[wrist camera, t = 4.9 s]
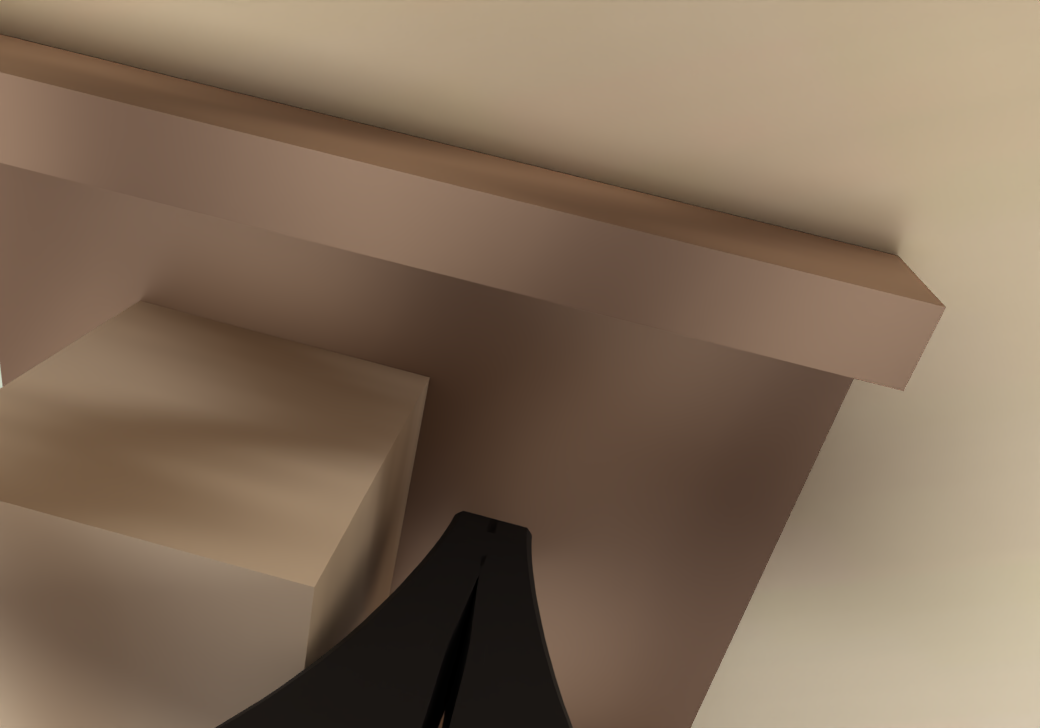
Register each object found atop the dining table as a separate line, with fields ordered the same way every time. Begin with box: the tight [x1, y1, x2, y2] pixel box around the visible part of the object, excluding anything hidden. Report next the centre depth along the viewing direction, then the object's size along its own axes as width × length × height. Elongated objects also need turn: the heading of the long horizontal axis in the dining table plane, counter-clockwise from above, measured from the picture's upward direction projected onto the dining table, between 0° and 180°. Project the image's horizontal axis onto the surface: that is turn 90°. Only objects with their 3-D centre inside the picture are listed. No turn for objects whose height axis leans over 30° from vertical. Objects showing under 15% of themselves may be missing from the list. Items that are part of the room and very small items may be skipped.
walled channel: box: [0, 34, 946, 728], centre depth 14 cm, size 20×12×2 cm, turn 78°
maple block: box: [0, 301, 430, 728], centre depth 12 cm, size 5×5×5 cm
